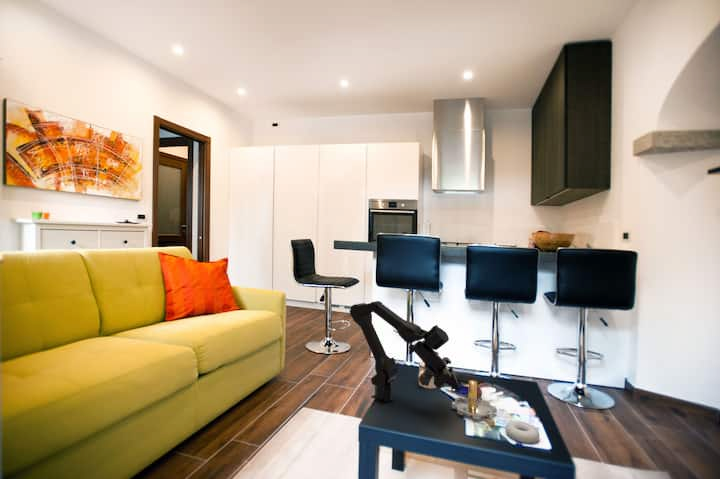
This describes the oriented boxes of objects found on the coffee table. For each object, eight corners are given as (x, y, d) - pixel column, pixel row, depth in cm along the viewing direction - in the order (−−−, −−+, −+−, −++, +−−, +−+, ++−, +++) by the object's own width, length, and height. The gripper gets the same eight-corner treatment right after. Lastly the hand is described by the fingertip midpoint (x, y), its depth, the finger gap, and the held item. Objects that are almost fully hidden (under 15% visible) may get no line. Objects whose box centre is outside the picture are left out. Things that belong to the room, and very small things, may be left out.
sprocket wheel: (443, 405, 134) (444, 373, 134) (470, 397, 143) (471, 367, 143) (477, 423, 122) (478, 387, 122) (505, 412, 130) (506, 379, 130)
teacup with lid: (425, 379, 164) (426, 353, 164) (443, 385, 157) (444, 358, 158) (410, 386, 155) (410, 359, 155) (428, 392, 149) (429, 364, 149)
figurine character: (444, 394, 151) (477, 402, 140) (442, 375, 152) (475, 382, 141) (453, 390, 156) (485, 398, 145) (451, 372, 157) (484, 378, 146)
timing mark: (485, 422, 125) (485, 419, 125) (489, 421, 126) (489, 418, 126) (490, 425, 123) (490, 422, 123) (494, 424, 123) (494, 421, 123)
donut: (502, 438, 115) (536, 449, 110) (502, 427, 115) (536, 437, 110) (509, 426, 123) (541, 435, 118) (509, 416, 123) (541, 424, 118)
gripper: (414, 362, 141) (443, 394, 139) (409, 378, 123) (442, 416, 120) (435, 343, 140) (464, 376, 137) (433, 358, 122) (467, 395, 119)
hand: (459, 390), depth 128 cm, fingers closed
